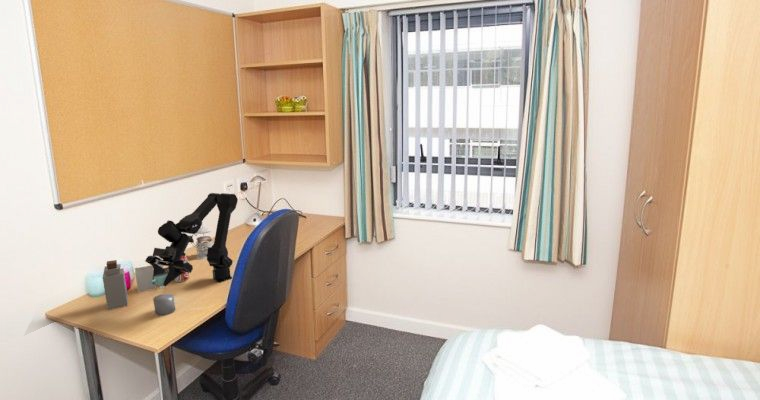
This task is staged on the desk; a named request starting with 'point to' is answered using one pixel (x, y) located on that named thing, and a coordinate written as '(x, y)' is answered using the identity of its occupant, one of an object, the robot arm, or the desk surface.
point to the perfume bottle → (115, 285)
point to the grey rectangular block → (144, 278)
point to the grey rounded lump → (164, 304)
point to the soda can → (183, 276)
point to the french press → (206, 245)
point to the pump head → (159, 280)
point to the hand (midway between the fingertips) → (158, 284)
